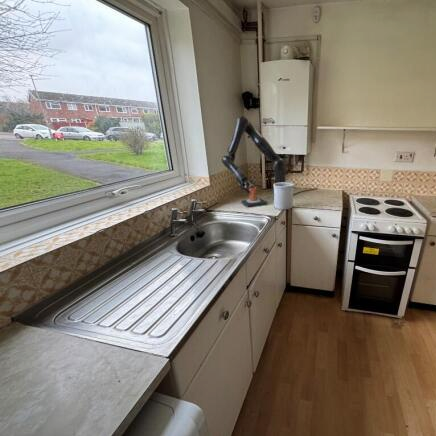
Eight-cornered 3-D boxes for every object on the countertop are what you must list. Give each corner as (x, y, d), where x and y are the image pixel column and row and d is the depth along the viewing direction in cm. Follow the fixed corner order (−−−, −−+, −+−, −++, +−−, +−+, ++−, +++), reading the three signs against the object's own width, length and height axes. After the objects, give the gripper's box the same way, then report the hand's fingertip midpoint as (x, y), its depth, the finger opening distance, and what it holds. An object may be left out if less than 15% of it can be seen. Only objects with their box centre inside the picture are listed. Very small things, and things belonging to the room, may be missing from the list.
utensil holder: (297, 207, 173) (297, 184, 167) (280, 211, 166) (279, 187, 160) (287, 203, 185) (287, 181, 179) (270, 206, 177) (269, 183, 172)
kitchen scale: (260, 200, 194) (260, 197, 193) (267, 204, 182) (267, 201, 181) (241, 203, 186) (241, 199, 185) (247, 207, 175) (247, 203, 174)
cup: (255, 198, 188) (255, 186, 185) (258, 200, 183) (257, 188, 180) (248, 199, 185) (247, 187, 182) (251, 201, 180) (250, 188, 177)
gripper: (236, 174, 175) (249, 190, 174) (248, 171, 187) (260, 187, 186) (231, 180, 180) (244, 196, 178) (243, 177, 191) (255, 192, 190)
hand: (252, 191), depth 182 cm, fingers open, 8 cm apart
